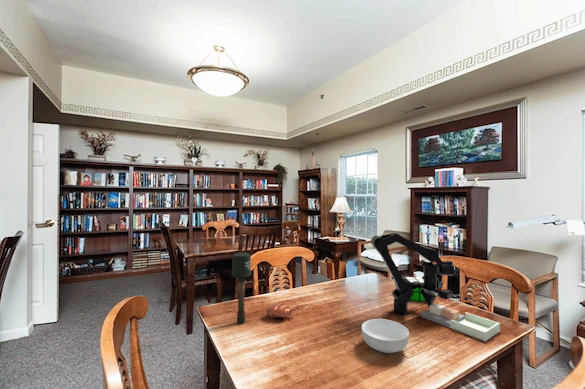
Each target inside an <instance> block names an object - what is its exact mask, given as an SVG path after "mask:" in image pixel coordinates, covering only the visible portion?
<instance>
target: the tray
mask: <svg viewBox="0 0 585 389" xmlns="http://www.w3.org/2000/svg"><path fill="white" fill-rule="evenodd" d="M449 329H452V330H454V331H457V332H460V333H462V334H464V335H468V336H470V337H473V338H475V339H477V340H480V341H482V342H487V341H489V339H491V338H493V337H494V336H496V335H497V334H499V333H500V332H501V323H500V322H497V321H494V320H492V319H489V318H486V317H482V316H479V315H476V314H472V313H469V312H468V311H467V312H465V319H463V320H461V321H459V322H457V321H454V320H450V328H449Z"/></svg>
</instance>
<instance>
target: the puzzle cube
mask: <svg viewBox="0 0 585 389" xmlns="http://www.w3.org/2000/svg"><path fill="white" fill-rule="evenodd" d="M404 278H406V279H407V280H408V281H409V282H410V283H411V282H414V281H417V282H421V283H422V284H423V285H424V279H422V277H418V276H417V277H416V276H415V277H413V276H405V277H404ZM420 292H421V289H420V288H416V289H415V290H414V289H413V296H412V297H411V298H410V300H413V301H412V302H426V301H425V299H424V297H423V295H422V294H421V293H420Z"/></svg>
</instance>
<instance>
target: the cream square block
mask: <svg viewBox="0 0 585 389" xmlns="http://www.w3.org/2000/svg"><path fill="white" fill-rule="evenodd" d="M445 308H447V306H446V305H442V304H440V303H433V304H432V305H430V308H429V309H430V312H431V313H434V314H437V315H440V316H441V315H442V310H443V309H445Z"/></svg>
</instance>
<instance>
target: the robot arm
mask: <svg viewBox="0 0 585 389" xmlns="http://www.w3.org/2000/svg"><path fill="white" fill-rule="evenodd" d="M370 243H371V245H372V246H373V248H374V249H375V250H376V252H377V253H378V254H379V255H380V256H381V259H382V260H383V262H384V264H385V266H386V268H387V269H388V272H389V273H390V275H391V277H392V278H393V281H394V286H395V289H394V290H393V291H392V292H391V294H392V297H393V298H394V299H393V309H392V310H390V312H392V313H393V314H396V315H397V316H401V317H404V316H406V315H409V314H411V312H410V311H409V310H408V304H409V302H411V301H410V298H411V297H412V296H413V289H414V290H415V289H416V288H420V289H421V292H420V293H421V294H422V295H423V297H424V299H425V301H424V302H426V304H427V307H428V309H430V305H432V304H434V302H435V300H436V298H437V297H439V298H440V299H443V300H450V299H452V298H453V297H454V293H453V291H452V290H449V289H445V288H443V287H444V281H441V280H439V277H437V276H438V275H439V276H445V277H446V276H447V277H448V276H451V277H453V276H455V273H456V268H455V266H454V264H453V263H454V262H453V261H451V260H442V259H441V258H440V253H439V252H438V251H437V250H435V249H434V248H433V249H432V248H430V247H427V246H424V245H420V244H418V243H416V242H414V241H412V240H410V239H408V238H406V237H404V236H402V235H400V234H399V233H398V232H392V233H386V234H382V235H373V236H372V237H371V240H370ZM395 243H399V244H400V245H401V246H404V247H406V248H408V249H409V250H412V251H414V252H415V253H417V254H418V255H419V256H421V258H423V259H422V260H421V261H419V262H418V264H419V265H420V266H422V267H423V276H422V277H421V278H422V279H424V285H423V284H422V283H421V282H417V281H414V282H411V283H410V282H409V281H408V280H407V279H406V278H405V277H404V278H403V275H402V274H401V272H400V271H399V269H398V267H397V265H396V263H395V261H394V260H393V257H392V256H391V254H390V251H389V246H391V245H393V244H395Z"/></svg>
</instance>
